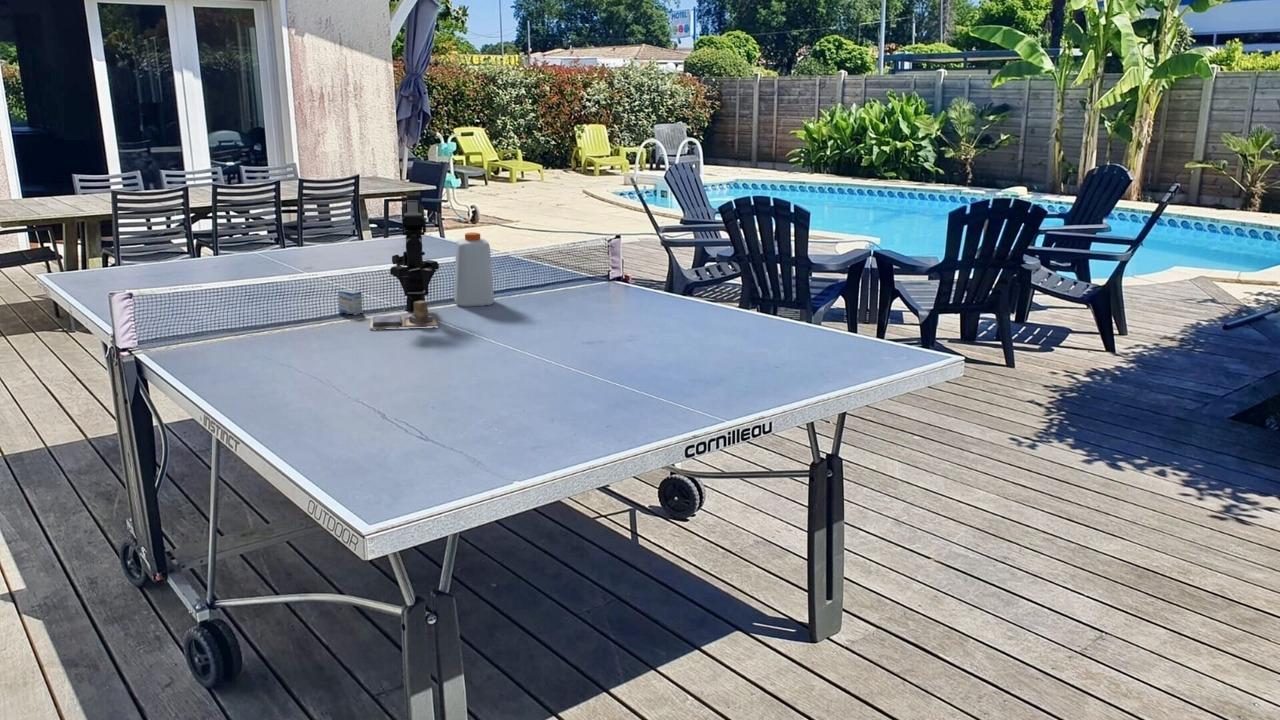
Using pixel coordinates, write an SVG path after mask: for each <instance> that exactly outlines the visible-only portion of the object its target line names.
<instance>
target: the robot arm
mask: <svg viewBox="0 0 1280 720" xmlns="http://www.w3.org/2000/svg"><path fill="white" fill-rule="evenodd" d="M424 207H425V206H424V205H422V204H420V200H416V199H414V200H413V199H411V200H410V199H407V200H405V204H403V205H402V206H401V207H400V209H401V222H402V224H401V225H402V236H405V251H403V255H402V256H400V255H399V254H395V255H392V256H391V262H392V265H395V266H391V267H390V269H389V272H390V275H391V276H393V277H395V278H396V279H397V280H399V283H400V285H401V288H402V290H403V292H404V297H406V299H405V300H406V308H404V311H407V312H411V313H414V303H413V302H416V301H425V302H426V298H425V296H426V297H427V296H428V295H429V294H430V293H429V285H430V283H431V280H432V279H433V276H434V275H435V273H436V272H437V270H439V269H440V265H439V263H438V260H437V261H436V260H431V259H426V260H423V259H424V258H423V256H425V255H426V252H425V251H423V236H425V233H427V224H426V223H427V221H426V220H425V208H424Z"/></svg>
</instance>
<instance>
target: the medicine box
mask: <svg viewBox="0 0 1280 720" xmlns="http://www.w3.org/2000/svg"><path fill="white" fill-rule="evenodd" d="M337 293H338V294H337V295H338V311H339V313H340V314H342V313H349V314H358V313H362V314H363V294H362V291H357V290H353V289H346V288H345V289H342V290H341V289H340V290H338V292H337Z"/></svg>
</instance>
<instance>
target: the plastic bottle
mask: <svg viewBox="0 0 1280 720" xmlns="http://www.w3.org/2000/svg"><path fill="white" fill-rule="evenodd" d="M455 244H456V245H455V260H454V261H455V262H454V267H455V268H454V282H453V284H454V287H453V288H454V289H453V300H454V302H455V304H456V305H458V306H459V307H462V308H463V307H467V308H470V307H486V306H485V305H489V306H492V305H493V304H494V303H495V296H494V295H495V293H494V284H493V283H494V282H493V280H494V279H493V272H492V259H491V256H492V255H491V249H490V248H491V245H490V244H489V241H487V240H486V239H484V238H481V233H479V232H474V231H473V232H471V231H470V232H466V233H465V234H464V238H461V239H458V240H456V243H455ZM491 304H492V305H491Z"/></svg>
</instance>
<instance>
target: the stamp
mask: <svg viewBox="0 0 1280 720" xmlns="http://www.w3.org/2000/svg"><path fill="white" fill-rule="evenodd" d="M413 303H414V312H413V315H411V316H409V322H411V323H415V324H419V325H422V324H426V323H430V322H433V317H434V316H432V315H429V314H428V313H429V311H428V309H429V308H428V301H426V300H425V301H416V302H413Z"/></svg>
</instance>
